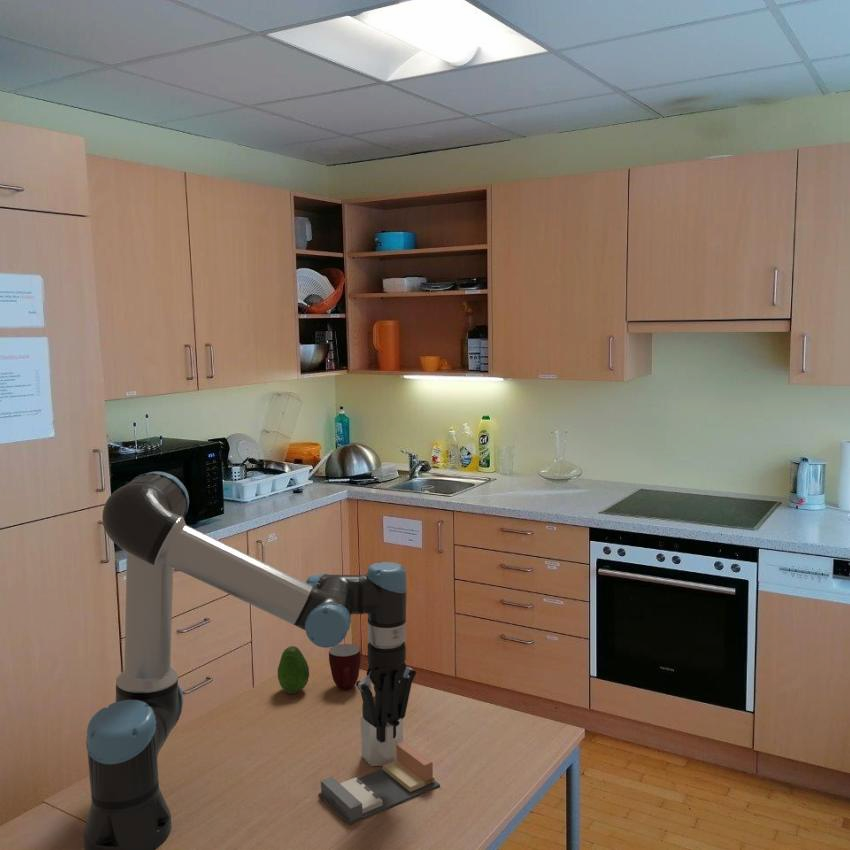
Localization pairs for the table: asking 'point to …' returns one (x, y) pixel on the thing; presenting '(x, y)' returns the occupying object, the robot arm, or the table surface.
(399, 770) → the tan block
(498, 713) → the table surface
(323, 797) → the mat
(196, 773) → the table surface
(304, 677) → the fruit
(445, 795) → the table surface
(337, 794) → the cream slotted tile
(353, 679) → the mug
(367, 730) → the jar
